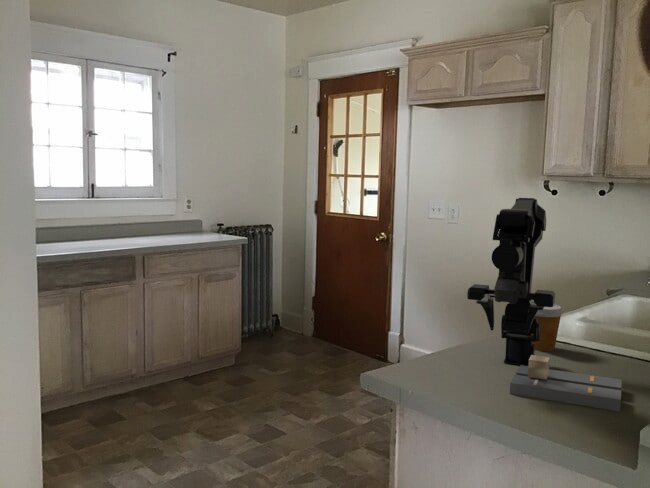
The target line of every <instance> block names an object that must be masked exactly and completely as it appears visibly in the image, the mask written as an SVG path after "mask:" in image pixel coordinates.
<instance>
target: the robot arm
mask: <svg viewBox="0 0 650 488" xmlns="http://www.w3.org/2000/svg"><path fill="white" fill-rule="evenodd" d="M546 229H547V214H546V210H545V209H544V208H543V207H542V206H540V205H539V204H538V200H537V198H534V197H518V198H515V202H514V204H513V206H512V207H511V208H502V209H500V211H499V213H498V214H496V217H495V223H494V228H493V234H492V241H499V245H497V246H496V247H495V248H494V249H493V251H492V254H491V262H492V264H493V265H494V267H495V268H496V269H498V276H497V279H496V282H495V285H494V287H493V288H494V289H490V285H489V284H480V283H479V284H477V283H476V284H475V283H473V284H472V285H471V286H470V287H469V288H468V289H467V297H466V298H467V300H471V301H472V300H473V301H476V305H477V304H478V305H480V306H481V307H482V308H483V311H484V312H485V316H486V318H487V323H488V325H489V328H490V331H494V328H495V309H494V308H495V307H494V301H495V302H496V303H501V302H503V303H506V305H505V308H504V314H502V316H501V324H500V325H501V326H500V327H501V329H500V330H501V331H500V332H501V334H500V335H501V339H505V357H504V360H503V363H504V364H512V365H516V366H517V365H518V366H520V365H522V366H528V365H529V358H530V356H531V355H535V356H536V354H535V353H536V350H535V345H534V344H533V342H536V341H539V340H540V326H539V323H538V321H537V318H535V315H536V313H537V311H538V310H543V309H544V307H553V306H554V304H555V305H556V293H555V291H554V290H548V289H547V290H545V289H536V291H535V292H532V284H533V274H534V264H535V252H536V247H537V246H538V245H539V244H540V242H541V241H542V240H543V235H544V232H546ZM531 334H533V335H531Z"/></svg>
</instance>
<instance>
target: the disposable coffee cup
mask: <svg viewBox="0 0 650 488" xmlns="http://www.w3.org/2000/svg"><path fill="white" fill-rule="evenodd" d="M563 313H564V311H563V310H562V307H561V306H560V305H559V304H556V303H555V304H554V306H553V307H544V309H543V310H538V311H537V313H536V315H535V318H537V321H538V323H539V326H540V340H539V341H536V342H533V344H534V345H535V351H539V352H552V351H555V350H556V349H555V348H556V344H557V343H556V342H557V337H558V333H559V327H560V322H561V317H562V315H563ZM531 335H533V334H531Z"/></svg>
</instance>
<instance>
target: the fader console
mask: <svg viewBox="0 0 650 488" xmlns="http://www.w3.org/2000/svg"><path fill="white" fill-rule="evenodd" d="M622 381H623V380H622V379H621V378H613V377H607V376H599V375H592V374H585V373H579V372H578V373H577V372H571V371H564V370H559V369H558V370H555V369H550V368H549V375H548V378H547V380H545V379H539V378H532V377H528V366H524V365H519V367H518V368H517V370H516V372H515V374H514V375H513V378H512V379H511V381H510V384H509V385H510V386H509V395H516V396H521V397H527V398H534V399H541V400H547V401H552V402H559V403H565V404H571V405H578V406H583V407H589V408H596V409H601V410H607V411H608V410H609V411H613V412H621V407H622V405H621V404H622V386H623V384H622V383H623V382H622Z"/></svg>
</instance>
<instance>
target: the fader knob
mask: <svg viewBox="0 0 650 488" xmlns="http://www.w3.org/2000/svg"><path fill="white" fill-rule="evenodd" d="M549 369H550V357H549V356H541V355H536V354H535V355H531V356H530V358H529V365H528V377H532V378H539V379H545V380H547V378H548V375H549Z"/></svg>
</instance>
